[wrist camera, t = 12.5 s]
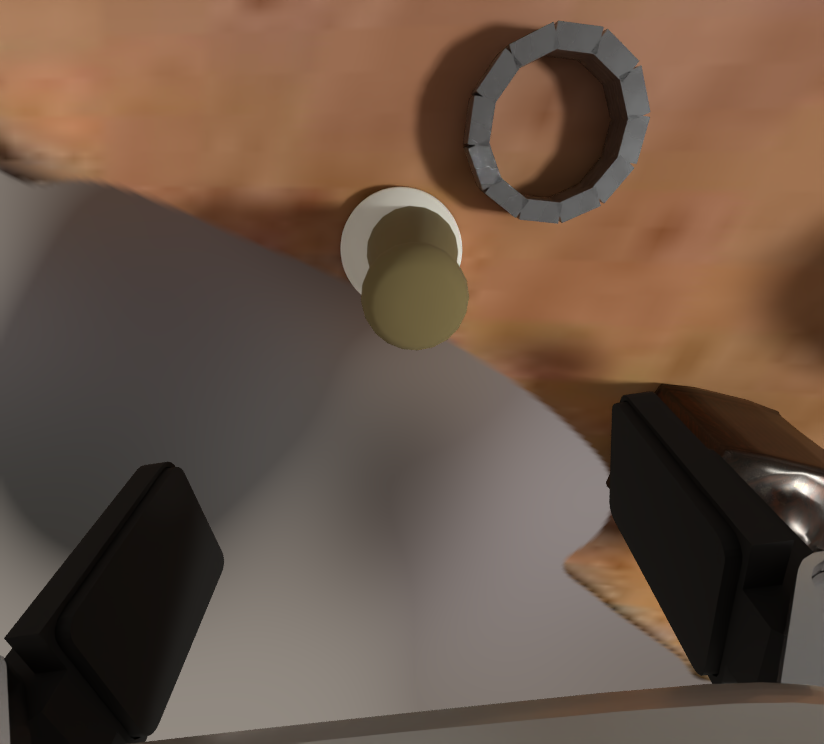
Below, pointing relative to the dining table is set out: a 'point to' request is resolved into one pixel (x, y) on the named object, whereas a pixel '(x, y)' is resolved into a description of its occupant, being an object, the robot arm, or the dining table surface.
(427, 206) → the pebble
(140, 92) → the dining table surface
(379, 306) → the cork
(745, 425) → the pepper mill
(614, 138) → the holder ring
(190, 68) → the dining table surface
